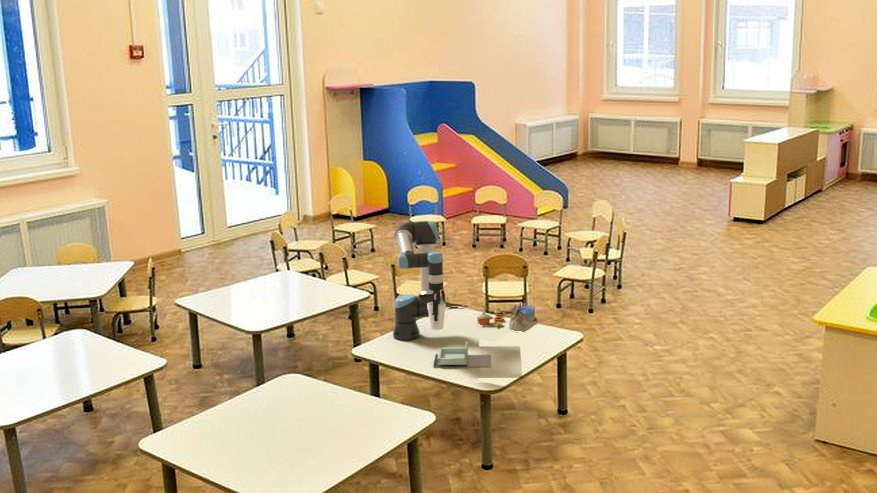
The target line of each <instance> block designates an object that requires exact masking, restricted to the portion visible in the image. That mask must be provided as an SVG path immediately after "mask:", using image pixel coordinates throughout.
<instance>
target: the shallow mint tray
mask: <svg viewBox="0 0 877 493" xmlns="http://www.w3.org/2000/svg"><path fill="white" fill-rule="evenodd" d="M464 344H465V345H464V347H440V348H438V353H437V354H438V358H437V364H438V365H440V366H441V365H467V361H468V355H469V341H468V340H467V341H465V343H464Z"/></svg>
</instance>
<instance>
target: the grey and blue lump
mask: <svg viewBox="0 0 877 493" xmlns="http://www.w3.org/2000/svg"><path fill="white" fill-rule="evenodd" d="M510 311H512V313H511V314H510V315H509V316H510V319H509V325H508V330H509V329H511V330H514V331H522V332H525V331H527V330H528V331H529V330H530V329H532V328H534V327H535V326H537V324H538V322H539V320H538V318H537V317H536V313H535V312H536V307H535V306H532V305H527V303H525V302H523V306H522V302H518V304H514V305H513V307H512V308H510ZM511 330H510V331H511ZM528 331H527V332H528ZM525 333H526V332H525Z"/></svg>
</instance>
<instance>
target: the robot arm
mask: <svg viewBox="0 0 877 493" xmlns="http://www.w3.org/2000/svg"><path fill="white" fill-rule="evenodd" d="M437 226H438V225H437V224H436V222H435V221H433V220H423V221H408V222H405V223H402V224H401V225H399V227H398V228H397V229H396V231H395V233H394V242H395V243H396V244H397V247H398V251H399V254H398V255H397V266H398V268H399V269H403V270H405V269H416V268H417V269H418V268H419V275H420V276H419V277H420V291H419V293H418V296H416V295H415V294H412V293H411V294H410V293H408V294H407V293H406V294H403V295H399V296H398V297H396V298H395V300H394V312H395V313H394V314H395V316H394V317H395V323H394V324H395V325H394V327H393V328H394V329H393V331H392V337H393V338H394V339H395V340H399V341H410V340H415V339H417V338H419V337H420V335H421V332H420V329H419V327H418V323H417V318H420V319H421V318H422V319H423V318H429V313H428V309H427V304H428V303H430V302H433V314H432V315H433V321H434V327H439V314H438V304H440V302H442V300H443V296H442V295H441V291H443V290H444V271H443V270H444V267H443V266H444V265H443V262H444V261H443V260H444V258H443V253H442V252H441V251H435V247H436V246H437V242H439V239H440V236H439V235H440V234H439V230H438V227H437ZM413 243H415V247H417V248H418V253H415V250H414V247H413Z"/></svg>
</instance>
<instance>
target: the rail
mask: <svg viewBox="0 0 877 493" xmlns="http://www.w3.org/2000/svg"><path fill="white" fill-rule="evenodd" d="M434 356H435V357H434V360H433V364H432V365H433V368H434V369H435V368H438V369H440V368H442V369H443V368H444V369H445V368H446V369H447V368H450V369H451V368H491V354H468V361H467V365H441V366H440V365H438V364H437V358H438V353H435V355H434Z"/></svg>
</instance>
